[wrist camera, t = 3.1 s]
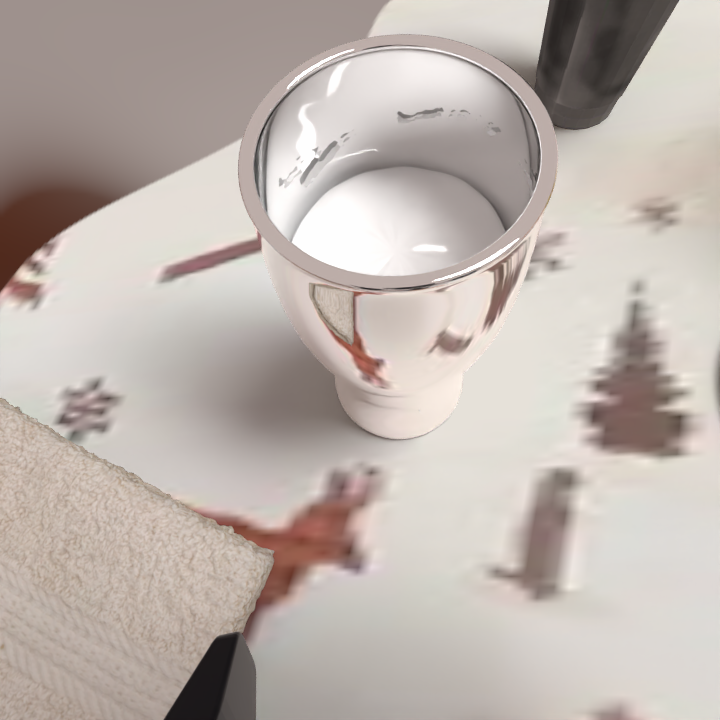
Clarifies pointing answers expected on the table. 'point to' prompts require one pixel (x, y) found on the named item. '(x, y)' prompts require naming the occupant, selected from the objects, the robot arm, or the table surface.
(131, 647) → the washcloth
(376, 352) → the silver metal tumbler
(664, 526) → the table surface
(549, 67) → the beverage cup
